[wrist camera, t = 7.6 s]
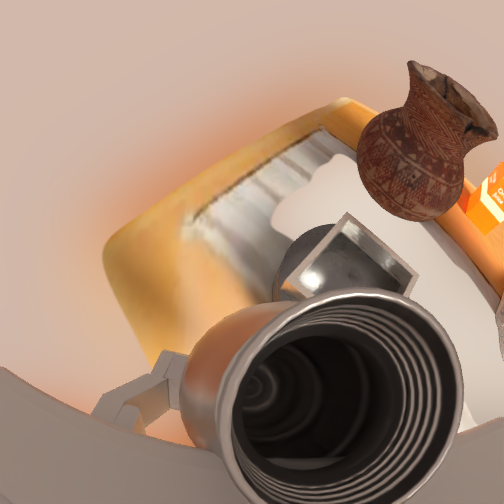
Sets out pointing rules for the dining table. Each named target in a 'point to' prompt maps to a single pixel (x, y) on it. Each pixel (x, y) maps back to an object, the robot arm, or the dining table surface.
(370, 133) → the jug
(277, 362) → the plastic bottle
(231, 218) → the dining table surface
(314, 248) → the disc with square tube
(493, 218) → the orange juice
